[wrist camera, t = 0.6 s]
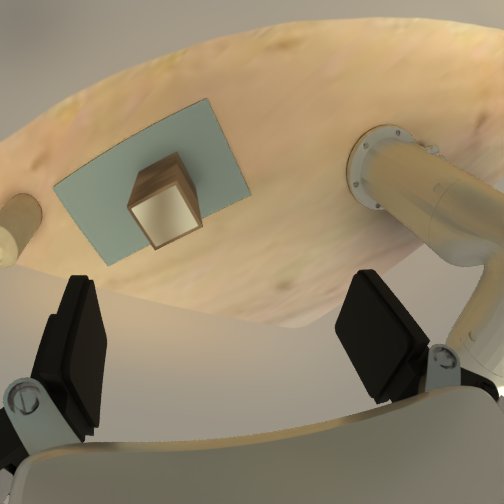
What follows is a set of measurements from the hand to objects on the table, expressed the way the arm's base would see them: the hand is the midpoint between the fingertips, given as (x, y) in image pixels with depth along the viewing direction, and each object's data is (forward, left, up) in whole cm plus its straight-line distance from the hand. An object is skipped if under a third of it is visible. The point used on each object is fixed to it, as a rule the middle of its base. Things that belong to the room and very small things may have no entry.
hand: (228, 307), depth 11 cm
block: (+5, +3, -27) cm, 28 cm away
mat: (+7, +3, -28) cm, 29 cm away
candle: (+24, -3, -28) cm, 37 cm away
